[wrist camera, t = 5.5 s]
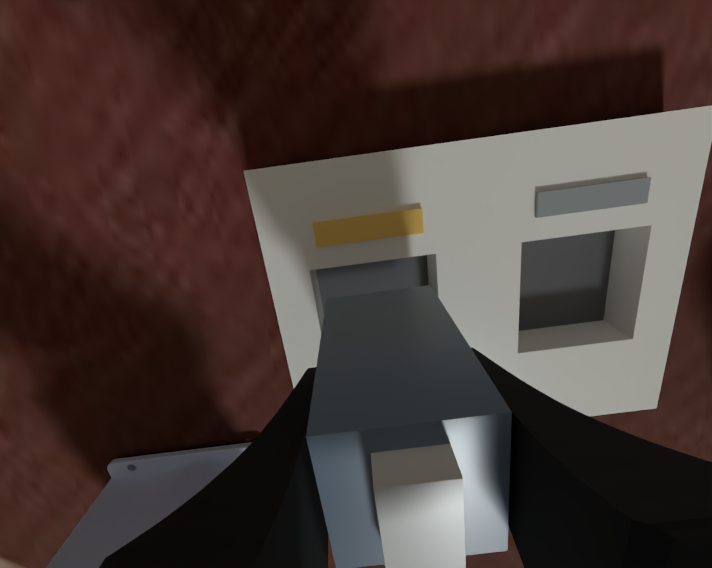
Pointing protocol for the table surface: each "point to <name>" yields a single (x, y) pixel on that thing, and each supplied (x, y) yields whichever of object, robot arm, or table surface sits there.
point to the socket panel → (504, 246)
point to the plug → (406, 435)
